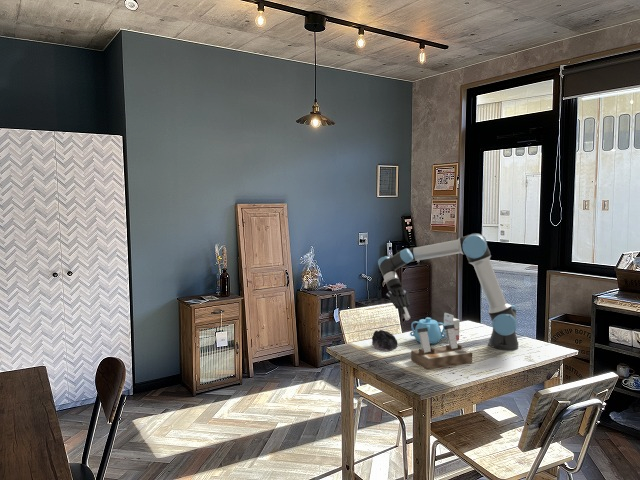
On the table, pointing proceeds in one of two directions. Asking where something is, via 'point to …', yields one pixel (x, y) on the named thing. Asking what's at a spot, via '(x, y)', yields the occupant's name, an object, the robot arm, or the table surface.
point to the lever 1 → (424, 339)
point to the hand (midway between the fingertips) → (408, 318)
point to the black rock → (384, 341)
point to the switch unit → (441, 357)
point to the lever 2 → (451, 336)
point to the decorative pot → (429, 330)
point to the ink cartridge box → (454, 322)
